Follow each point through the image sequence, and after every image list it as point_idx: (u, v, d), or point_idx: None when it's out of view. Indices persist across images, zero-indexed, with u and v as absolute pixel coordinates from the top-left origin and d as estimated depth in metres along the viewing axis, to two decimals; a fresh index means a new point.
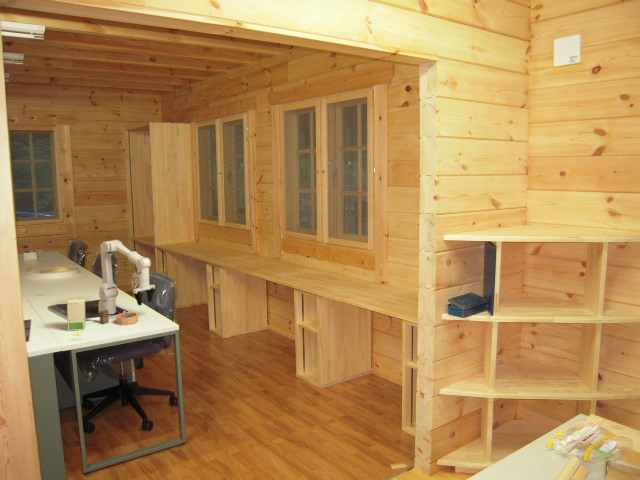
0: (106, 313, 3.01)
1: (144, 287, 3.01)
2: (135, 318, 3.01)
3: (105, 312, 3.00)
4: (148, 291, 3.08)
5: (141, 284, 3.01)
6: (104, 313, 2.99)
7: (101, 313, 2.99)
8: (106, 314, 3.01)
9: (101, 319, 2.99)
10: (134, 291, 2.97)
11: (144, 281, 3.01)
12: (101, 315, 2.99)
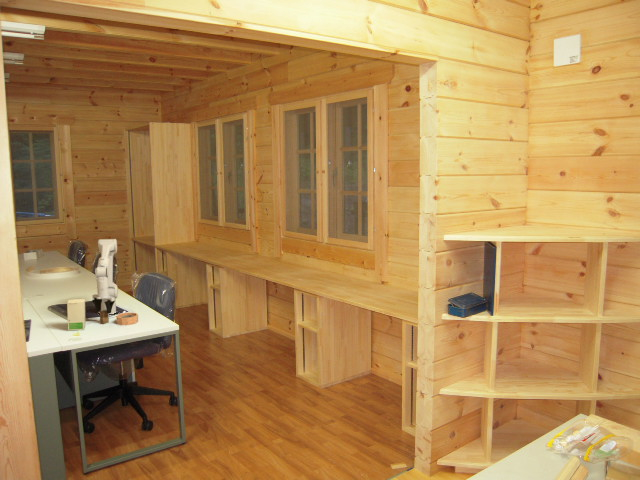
0: (106, 313, 3.01)
1: (97, 295, 2.98)
2: (135, 318, 3.01)
3: (105, 312, 3.00)
4: None
5: None
6: (104, 313, 2.99)
7: (101, 313, 2.99)
8: (106, 314, 3.01)
9: (101, 319, 2.99)
10: None
11: (97, 289, 2.97)
12: (101, 315, 2.99)
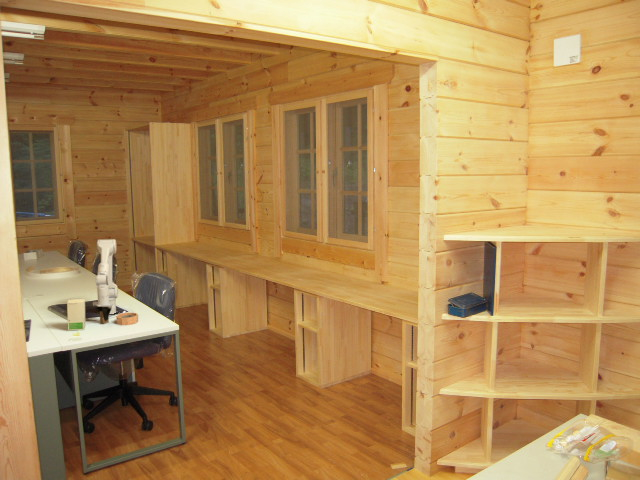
0: None
1: (98, 302, 2.99)
2: (135, 318, 3.01)
3: None
4: None
5: None
6: None
7: (101, 313, 2.99)
8: None
9: (101, 319, 2.99)
10: None
11: None
12: (101, 315, 2.99)
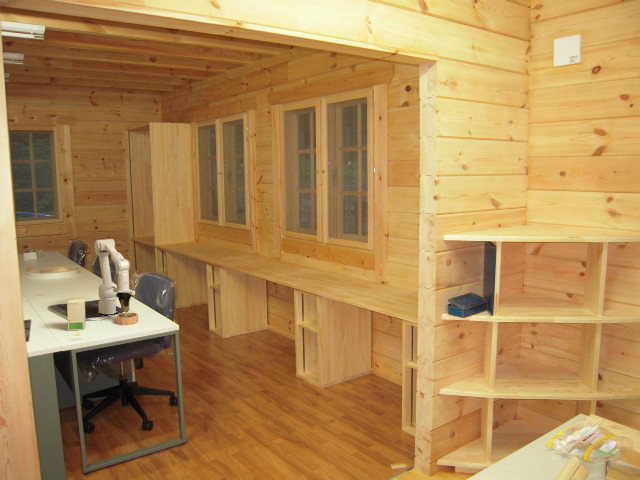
0: None
1: (118, 289, 2.99)
2: (135, 318, 3.01)
3: None
4: None
5: None
6: None
7: (122, 301, 3.00)
8: None
9: (122, 307, 3.00)
10: None
11: (118, 283, 2.99)
12: (122, 303, 3.00)
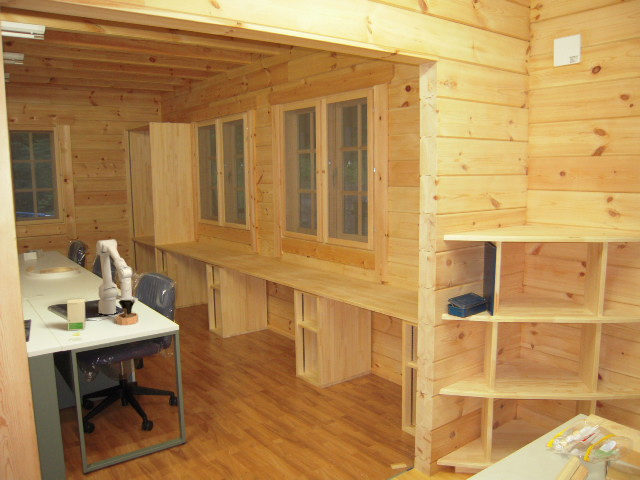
0: None
1: (121, 296, 3.00)
2: (135, 318, 3.01)
3: None
4: None
5: None
6: None
7: (125, 310, 3.01)
8: None
9: (124, 316, 3.01)
10: None
11: None
12: (124, 312, 3.01)
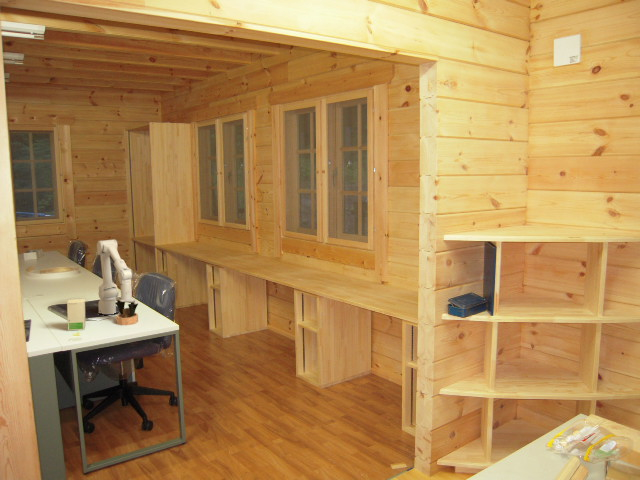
0: (129, 311, 3.02)
1: (121, 298, 3.00)
2: (135, 318, 3.01)
3: (128, 310, 3.02)
4: None
5: None
6: (127, 311, 3.01)
7: (124, 311, 3.00)
8: (129, 312, 3.02)
9: (124, 317, 3.01)
10: None
11: None
12: (124, 313, 3.01)
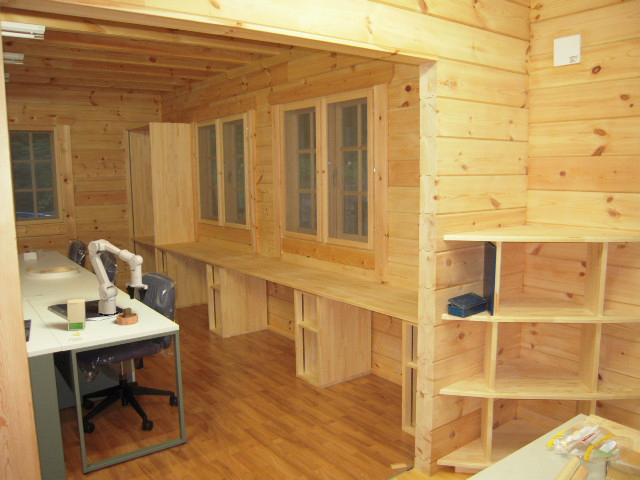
0: (129, 311, 3.02)
1: (131, 283, 3.10)
2: (135, 318, 3.01)
3: (128, 310, 3.02)
4: None
5: None
6: (127, 311, 3.01)
7: (124, 311, 3.00)
8: (129, 312, 3.02)
9: (124, 317, 3.01)
10: None
11: (131, 277, 3.10)
12: (124, 313, 3.01)
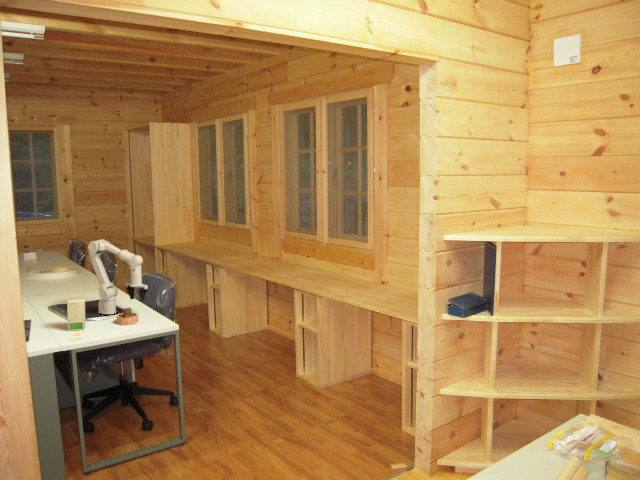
0: (129, 311, 3.02)
1: (131, 283, 3.10)
2: (135, 318, 3.01)
3: (128, 310, 3.02)
4: None
5: None
6: (127, 311, 3.01)
7: (124, 311, 3.00)
8: (129, 312, 3.02)
9: (124, 317, 3.01)
10: None
11: (131, 277, 3.10)
12: (124, 313, 3.01)
